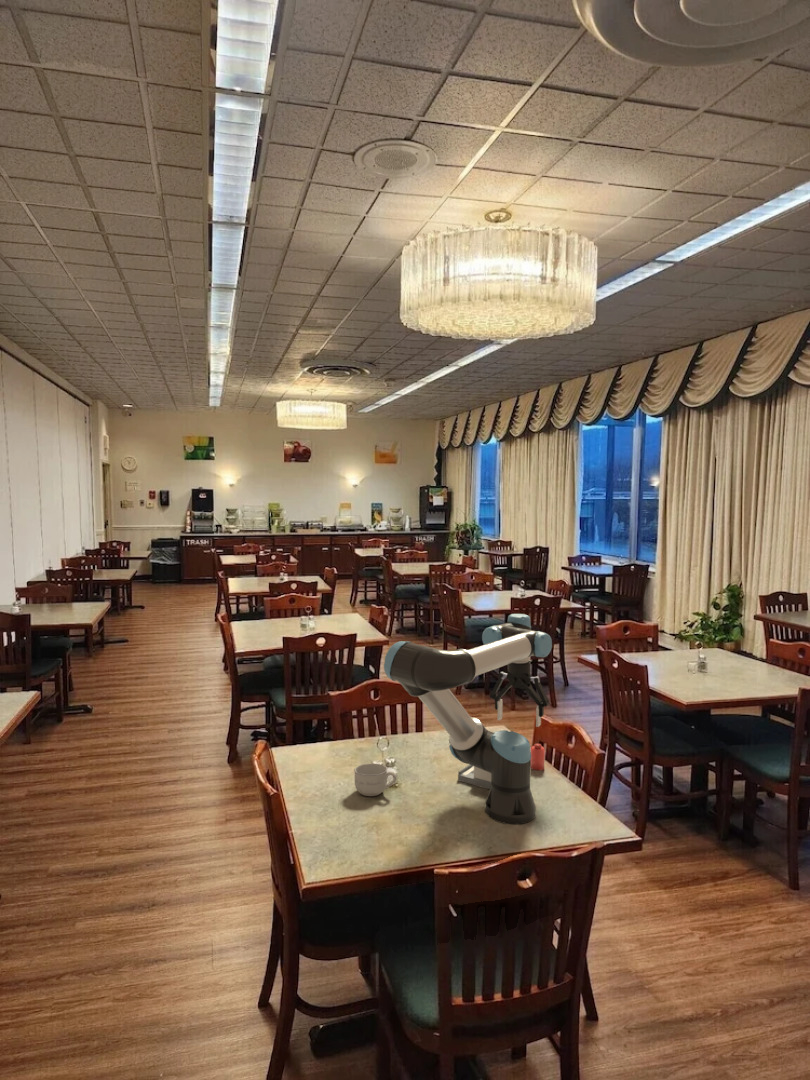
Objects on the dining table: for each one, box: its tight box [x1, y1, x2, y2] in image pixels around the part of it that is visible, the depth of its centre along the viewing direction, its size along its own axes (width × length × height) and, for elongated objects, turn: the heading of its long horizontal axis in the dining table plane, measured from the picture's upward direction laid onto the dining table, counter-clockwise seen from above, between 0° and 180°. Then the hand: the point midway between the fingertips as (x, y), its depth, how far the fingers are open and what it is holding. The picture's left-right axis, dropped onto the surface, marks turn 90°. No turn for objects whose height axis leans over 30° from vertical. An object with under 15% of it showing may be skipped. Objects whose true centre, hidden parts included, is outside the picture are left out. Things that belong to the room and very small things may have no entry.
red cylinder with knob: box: [530, 743, 546, 771], centre depth 231 cm, size 5×5×8 cm
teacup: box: [353, 762, 398, 797], centre depth 211 cm, size 14×11×8 cm
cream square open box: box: [474, 766, 491, 782], centre depth 219 cm, size 9×9×6 cm
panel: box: [457, 764, 491, 790], centre depth 227 cm, size 15×26×3 cm, turn 145°
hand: (518, 722), depth 221 cm, fingers open, 13 cm apart
